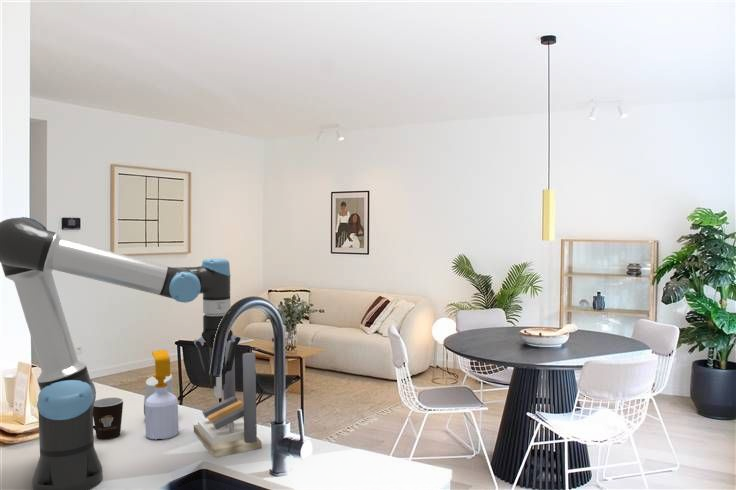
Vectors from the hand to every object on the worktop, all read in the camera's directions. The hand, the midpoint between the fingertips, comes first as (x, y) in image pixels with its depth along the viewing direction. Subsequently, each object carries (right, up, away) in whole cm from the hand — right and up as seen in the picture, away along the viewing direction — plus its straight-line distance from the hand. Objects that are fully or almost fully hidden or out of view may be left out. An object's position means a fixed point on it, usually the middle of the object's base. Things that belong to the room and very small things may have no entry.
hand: (218, 396), depth 173 cm
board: (+2, -13, +2) cm, 13 cm away
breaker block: (+2, -11, +2) cm, 11 cm away
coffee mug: (-35, -13, +6) cm, 38 cm away
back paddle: (-1, -4, +6) cm, 7 cm away
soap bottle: (-18, -13, +6) cm, 23 cm away
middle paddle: (+2, -5, +1) cm, 5 cm away
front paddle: (+5, -5, -4) cm, 8 cm away
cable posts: (+5, -10, +4) cm, 12 cm away
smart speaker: (-23, -12, +19) cm, 32 cm away
